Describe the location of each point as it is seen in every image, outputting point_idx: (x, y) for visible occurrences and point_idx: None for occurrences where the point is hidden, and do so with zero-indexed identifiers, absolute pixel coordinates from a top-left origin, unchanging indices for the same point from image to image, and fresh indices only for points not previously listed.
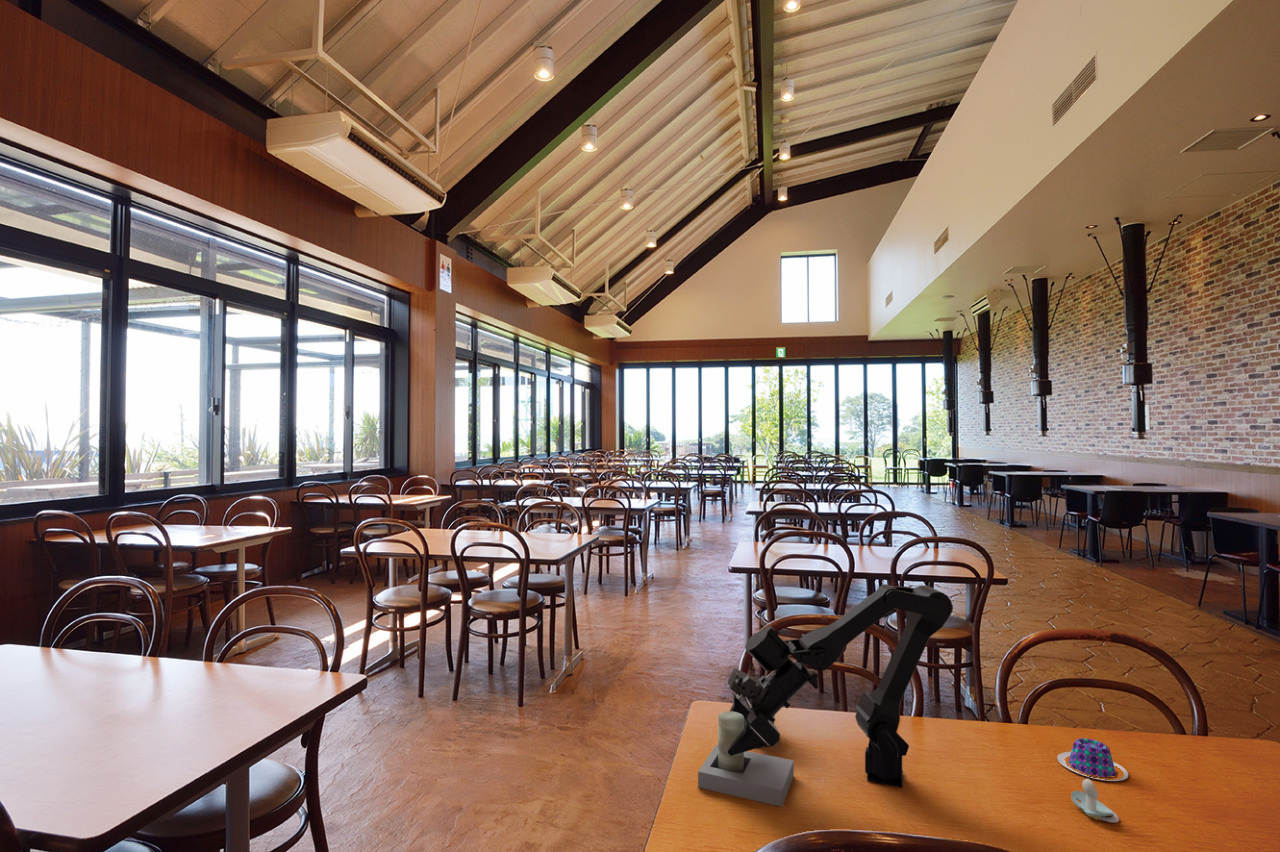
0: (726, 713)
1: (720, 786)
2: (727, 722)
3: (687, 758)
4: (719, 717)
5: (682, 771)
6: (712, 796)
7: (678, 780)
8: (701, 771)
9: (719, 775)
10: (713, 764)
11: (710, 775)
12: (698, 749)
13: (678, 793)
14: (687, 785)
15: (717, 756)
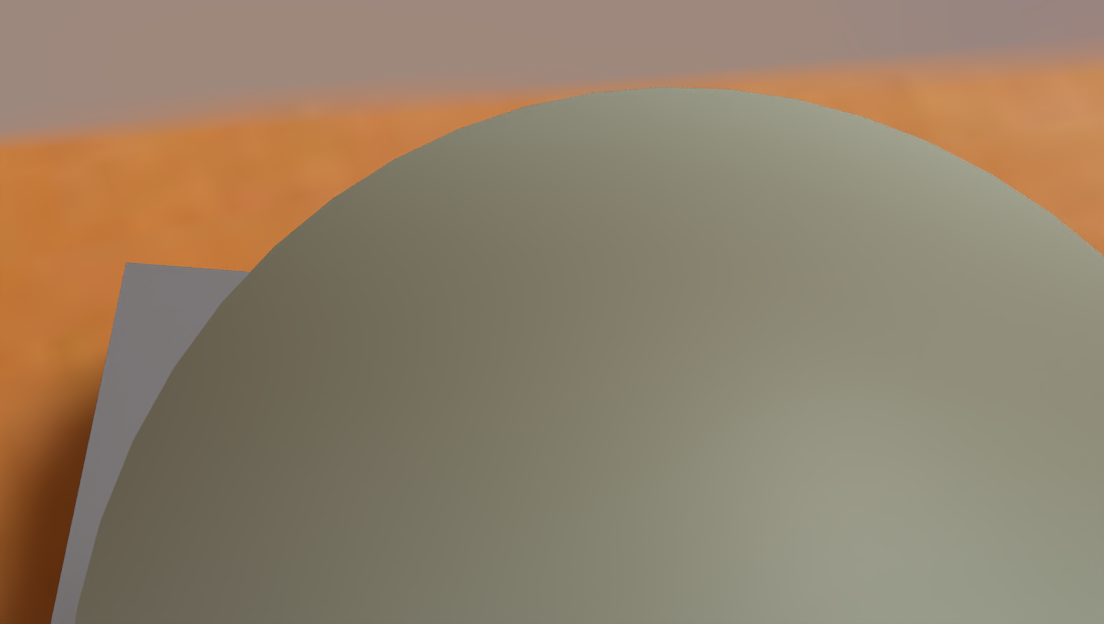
0: (968, 356)
1: None
2: (109, 589)
3: (776, 93)
4: (437, 158)
5: (482, 105)
6: (22, 538)
7: (279, 109)
8: (138, 303)
9: (82, 578)
10: None
11: (93, 444)
12: (1025, 156)
13: (5, 167)
14: (201, 216)
15: None
